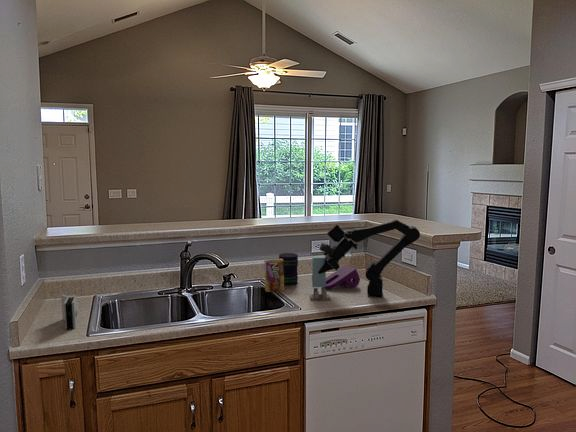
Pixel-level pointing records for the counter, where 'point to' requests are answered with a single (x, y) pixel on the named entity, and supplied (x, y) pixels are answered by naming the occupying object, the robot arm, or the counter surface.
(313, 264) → the door
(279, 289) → the candy box
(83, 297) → the counter surface
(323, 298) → the brown base with posts
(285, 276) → the storage jar
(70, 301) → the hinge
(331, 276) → the mounting bracket
